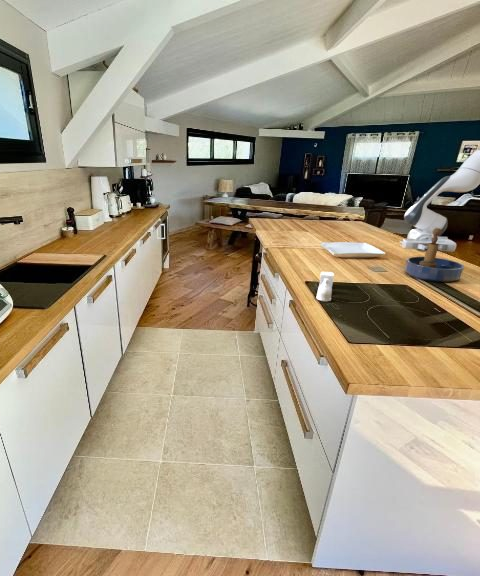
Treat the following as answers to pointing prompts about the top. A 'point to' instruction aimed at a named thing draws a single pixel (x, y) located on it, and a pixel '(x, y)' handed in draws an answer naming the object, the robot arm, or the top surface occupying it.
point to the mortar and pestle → (431, 251)
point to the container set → (325, 286)
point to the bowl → (434, 270)
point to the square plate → (352, 250)
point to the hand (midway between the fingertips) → (432, 248)
